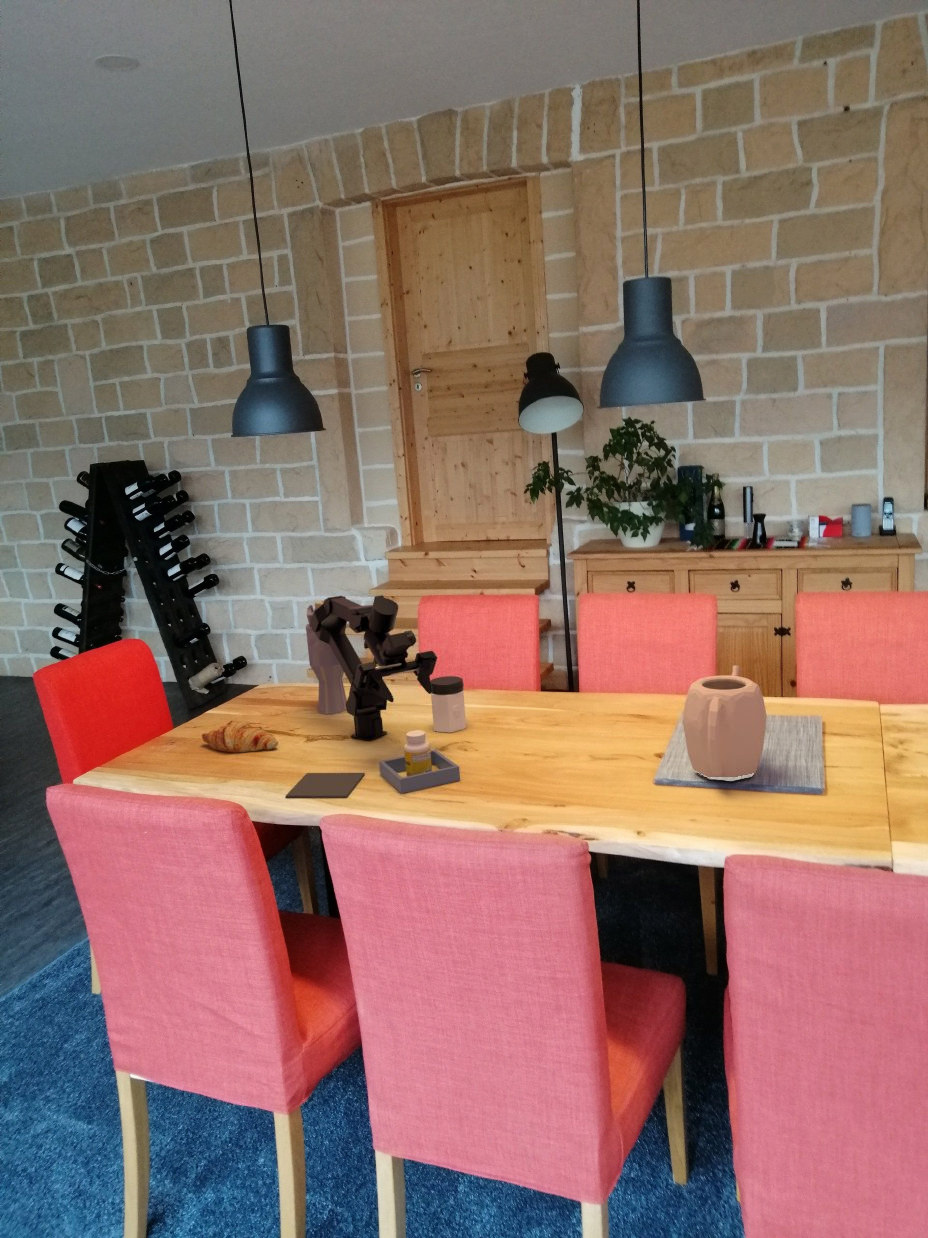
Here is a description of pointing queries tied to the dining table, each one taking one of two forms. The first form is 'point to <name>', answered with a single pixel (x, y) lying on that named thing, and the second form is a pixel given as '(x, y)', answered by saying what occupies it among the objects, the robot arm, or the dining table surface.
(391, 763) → the grey square frame
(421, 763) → the supplement bottle
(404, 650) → the robot arm
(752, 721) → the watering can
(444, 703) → the jar
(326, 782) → the mat
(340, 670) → the vase
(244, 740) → the croissant
